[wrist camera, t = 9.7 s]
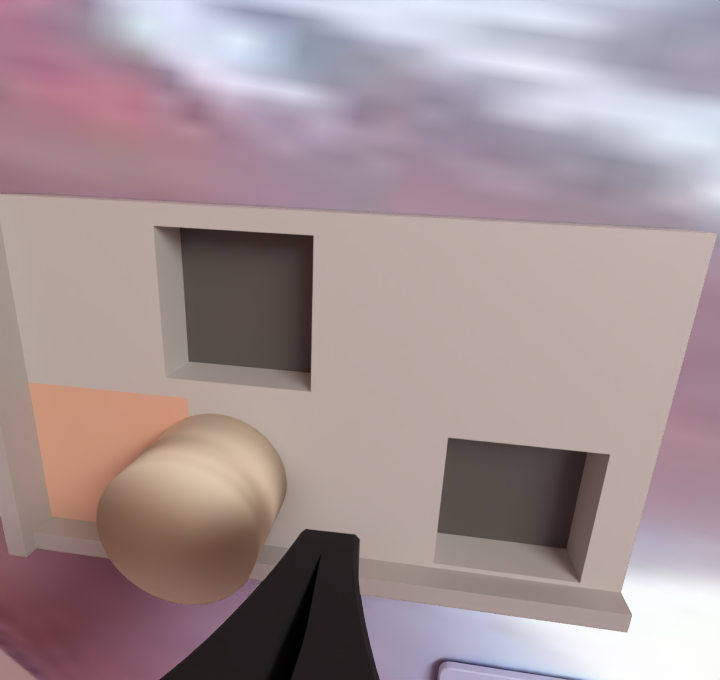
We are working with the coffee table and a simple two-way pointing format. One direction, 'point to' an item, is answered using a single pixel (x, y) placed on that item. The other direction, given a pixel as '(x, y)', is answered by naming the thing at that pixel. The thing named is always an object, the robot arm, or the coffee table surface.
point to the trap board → (356, 382)
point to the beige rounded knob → (193, 509)
